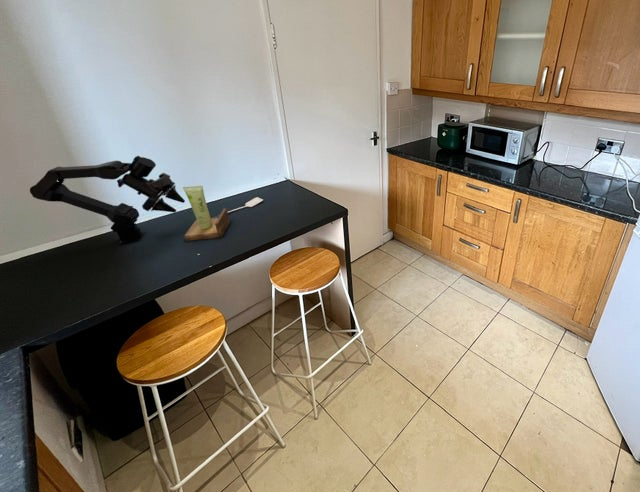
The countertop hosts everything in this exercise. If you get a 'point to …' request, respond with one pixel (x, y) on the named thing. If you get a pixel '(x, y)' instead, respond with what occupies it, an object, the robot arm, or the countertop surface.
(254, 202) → the spatula
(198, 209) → the tube
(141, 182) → the robot arm
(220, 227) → the wooden stand
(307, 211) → the countertop surface
